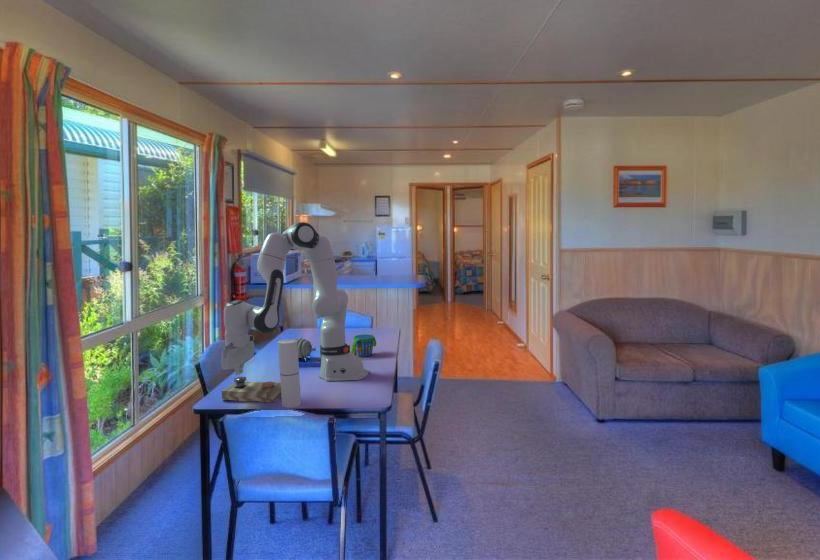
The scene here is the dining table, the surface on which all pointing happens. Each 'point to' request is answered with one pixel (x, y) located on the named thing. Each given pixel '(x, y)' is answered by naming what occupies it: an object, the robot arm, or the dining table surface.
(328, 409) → the dining table surface
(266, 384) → the terracotta button
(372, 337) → the snack cup
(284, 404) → the cylindrical container
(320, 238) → the robot arm
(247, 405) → the dining table surface
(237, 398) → the button panel
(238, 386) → the charcoal button
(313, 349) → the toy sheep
